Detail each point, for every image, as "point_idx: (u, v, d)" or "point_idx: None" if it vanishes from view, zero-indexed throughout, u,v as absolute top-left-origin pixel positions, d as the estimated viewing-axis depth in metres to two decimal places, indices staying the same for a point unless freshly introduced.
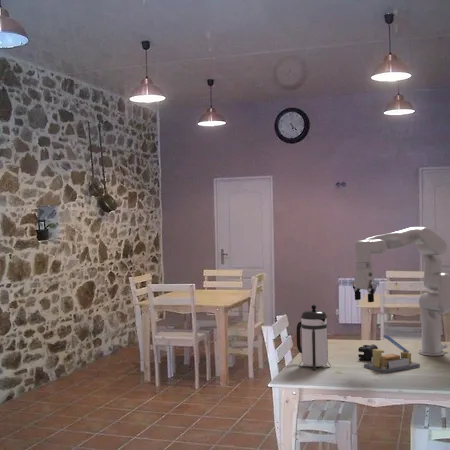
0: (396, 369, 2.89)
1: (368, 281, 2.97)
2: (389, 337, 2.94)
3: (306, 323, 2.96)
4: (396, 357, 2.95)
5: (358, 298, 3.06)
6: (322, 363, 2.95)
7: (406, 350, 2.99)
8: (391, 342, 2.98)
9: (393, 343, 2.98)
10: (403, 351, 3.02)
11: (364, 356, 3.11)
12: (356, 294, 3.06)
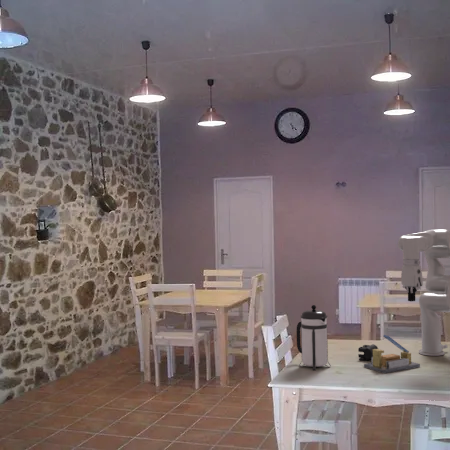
0: (396, 369, 2.89)
1: (417, 278, 2.94)
2: (389, 337, 2.94)
3: (306, 323, 2.96)
4: (396, 357, 2.95)
5: None
6: (322, 363, 2.95)
7: (406, 350, 2.99)
8: (391, 342, 2.98)
9: (393, 343, 2.98)
10: (403, 351, 3.02)
11: (364, 356, 3.11)
12: None
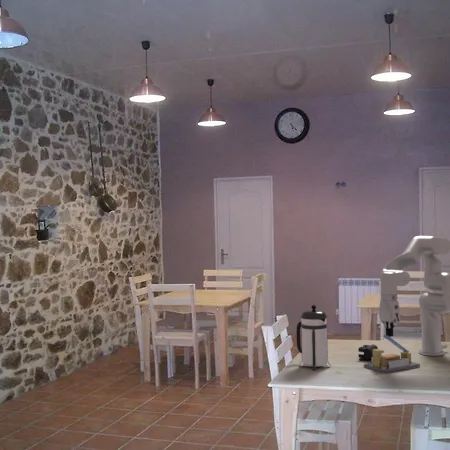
0: (396, 369, 2.89)
1: (394, 314, 2.91)
2: (389, 337, 2.94)
3: (306, 323, 2.96)
4: (396, 357, 2.95)
5: None
6: (322, 363, 2.95)
7: (406, 350, 2.99)
8: (391, 342, 2.98)
9: (393, 343, 2.98)
10: (403, 351, 3.02)
11: (364, 356, 3.11)
12: None
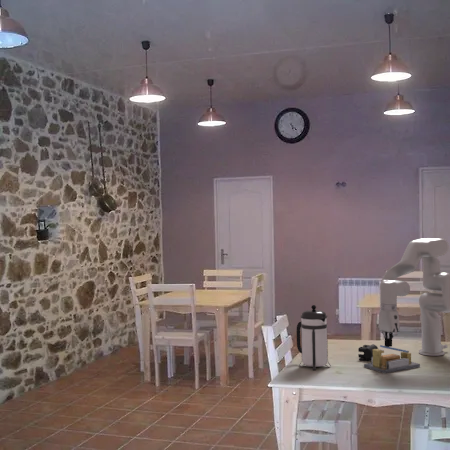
0: (396, 369, 2.89)
1: (393, 324, 2.91)
2: (386, 347, 2.93)
3: (306, 323, 2.96)
4: (396, 357, 2.95)
5: None
6: (322, 363, 2.95)
7: (406, 351, 2.99)
8: None
9: None
10: None
11: (364, 356, 3.11)
12: None
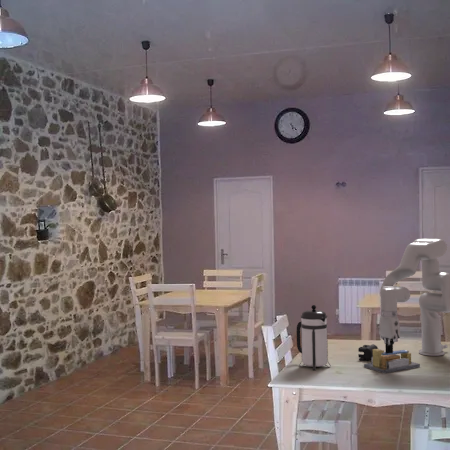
0: (396, 369, 2.89)
1: (394, 330, 2.91)
2: (385, 354, 2.93)
3: (306, 323, 2.96)
4: (396, 357, 2.95)
5: None
6: (322, 363, 2.95)
7: (406, 352, 2.99)
8: None
9: None
10: None
11: (364, 356, 3.11)
12: None
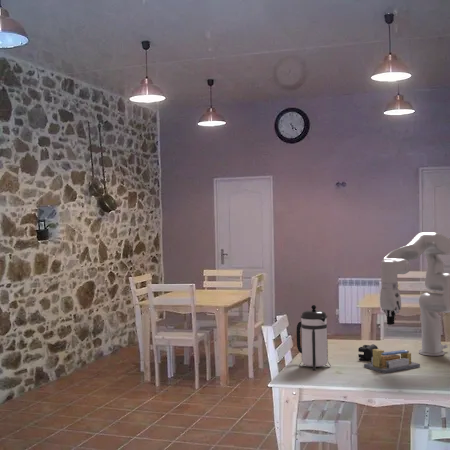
0: (396, 369, 2.89)
1: (395, 302, 2.93)
2: (385, 354, 2.93)
3: (306, 323, 2.96)
4: (396, 357, 2.95)
5: None
6: (322, 363, 2.95)
7: (406, 352, 2.99)
8: None
9: None
10: None
11: (364, 356, 3.11)
12: None
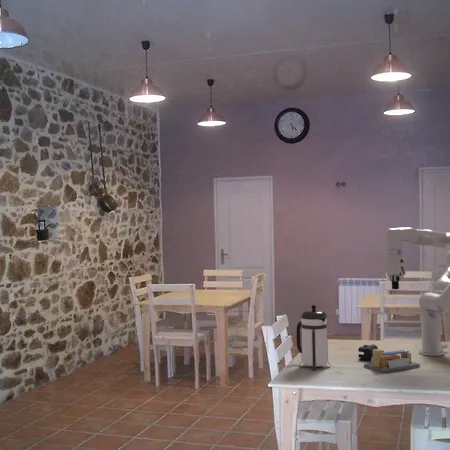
0: (396, 369, 2.89)
1: (400, 267, 3.10)
2: (385, 354, 2.93)
3: (306, 323, 2.96)
4: (396, 357, 2.95)
5: None
6: (322, 363, 2.95)
7: (406, 352, 2.99)
8: None
9: None
10: None
11: (364, 356, 3.11)
12: None
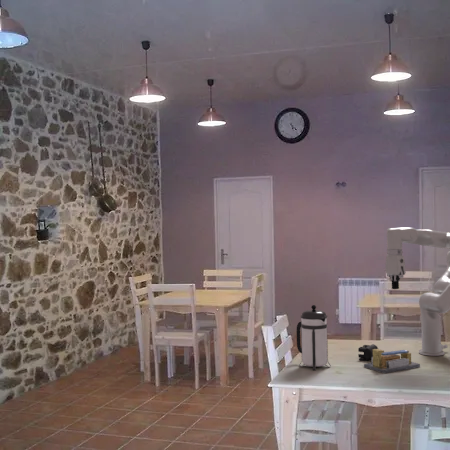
0: (396, 369, 2.89)
1: (399, 267, 3.10)
2: (385, 354, 2.93)
3: (306, 323, 2.96)
4: (396, 357, 2.95)
5: None
6: (322, 363, 2.95)
7: (406, 352, 2.99)
8: None
9: None
10: None
11: (364, 356, 3.11)
12: None
